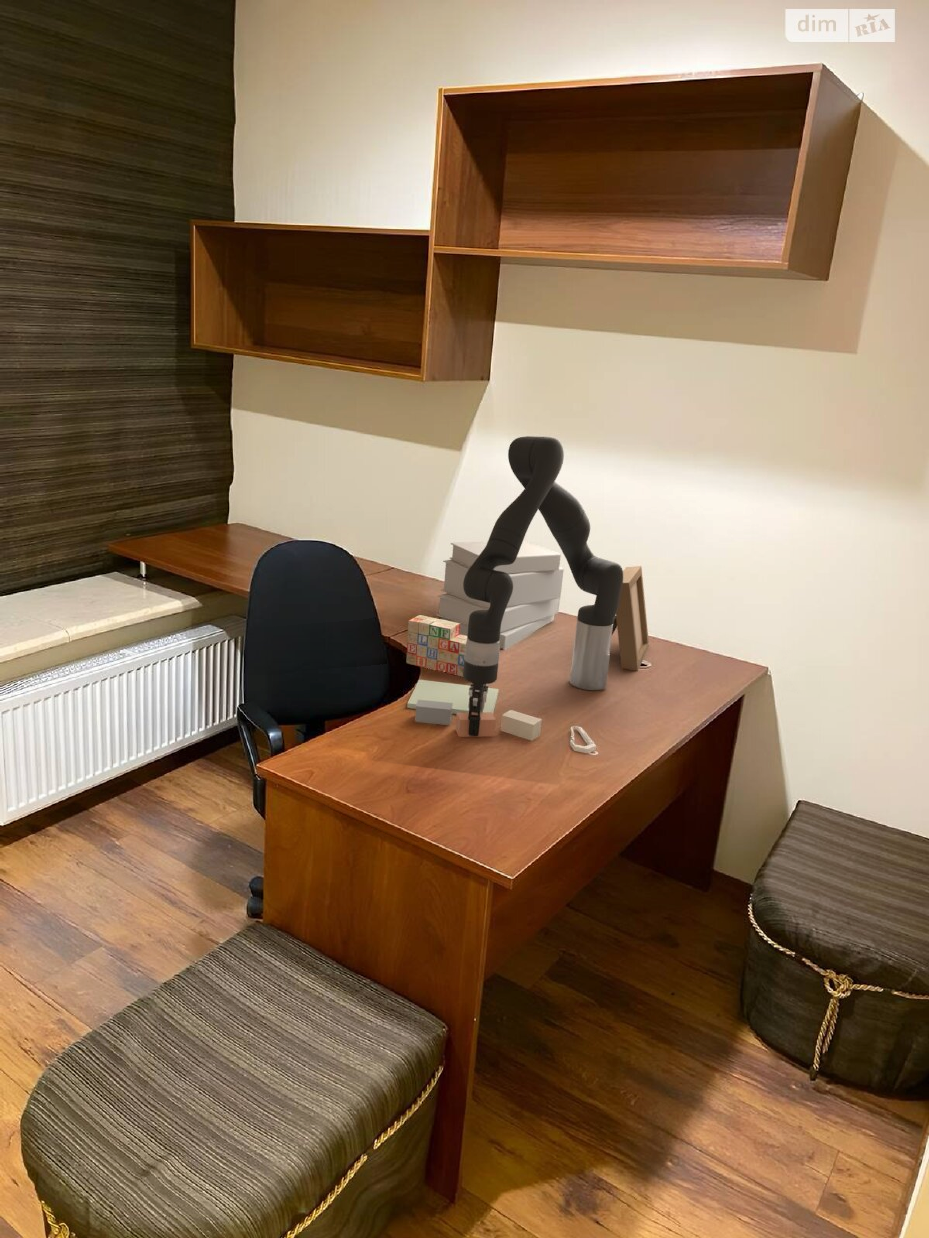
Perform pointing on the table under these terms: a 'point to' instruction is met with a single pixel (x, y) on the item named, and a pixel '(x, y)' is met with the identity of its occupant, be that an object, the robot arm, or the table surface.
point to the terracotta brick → (484, 729)
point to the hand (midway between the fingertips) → (474, 729)
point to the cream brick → (521, 725)
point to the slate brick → (433, 712)
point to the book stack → (530, 597)
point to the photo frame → (632, 620)
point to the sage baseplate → (449, 695)
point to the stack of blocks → (436, 644)
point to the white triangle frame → (590, 744)
